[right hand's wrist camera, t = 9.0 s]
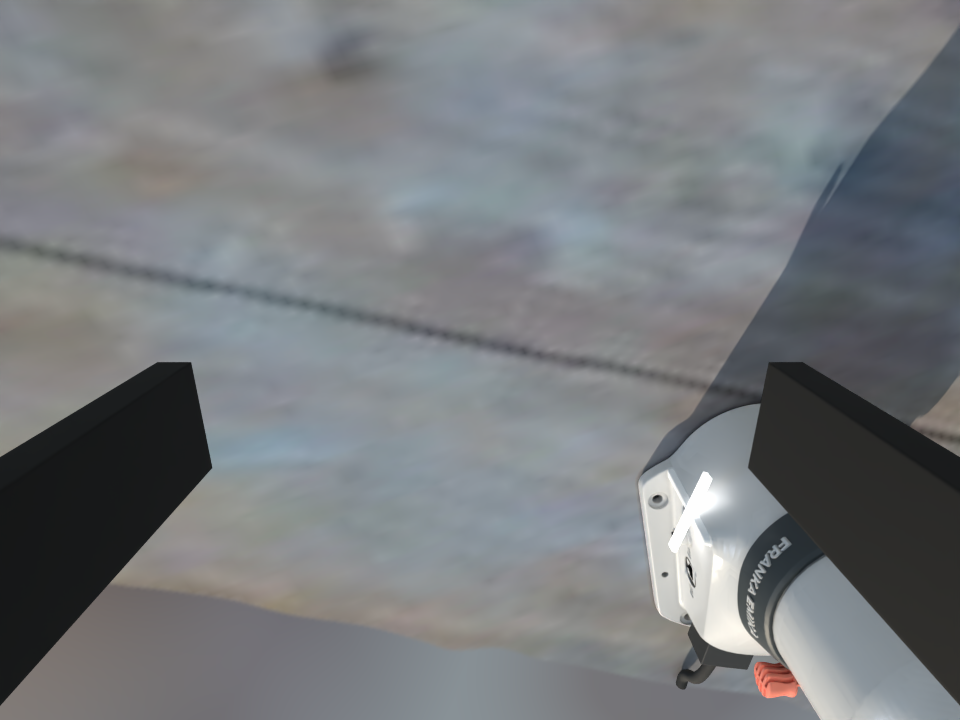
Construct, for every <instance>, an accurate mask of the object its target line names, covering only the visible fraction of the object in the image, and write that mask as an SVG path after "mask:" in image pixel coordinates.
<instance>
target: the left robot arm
mask: <svg viewBox="0 0 960 720" xmlns="http://www.w3.org/2000/svg"><path fill="white" fill-rule="evenodd" d="M760 404H761V403H760ZM760 404H752V405H747V406H742V407H739V408H735V409H732V410H730V411H727V412H725V413H723V414H720V415H718V416H716V417H715V418H713V419H711V420H709V421H708V422H706V423H705V424H703V425H702V426H701V427H699V428H698V429H697V430H696V431H695V432H693V433H692V434H691V435H690V436H689V437H688V438H687V439H686V440H685V442H684V443H683V444H682V445H681V446H680V447H679V449H678V450H677V451H676V452H675V453H674V454H673V455H672V456H671V457H670V458H668V459H667V460H665V461H663V462H661V463H659V464H657V465H656V466H654V467H652V468H651V469H649V470H648V471H646V472H645V473H644V474H643V475H642V476H641V477H640V479H639V483H638V487H639V494H640V501H641V509H642V516H643V523H644V530H645V537H646V544H647V552H648V559H649V566H650V573H651V580H652V588H653V595H654V601H655V605H656V608H657V609H658V611H659V613H660V614H661V615H662V616H663V617H665V618H667V619H669V620H671V621H673V622H676V623H679V624H682V625H686V626H690V629H689V632H688V636H689V638H690V640H691V643H692V645H693V647H694V649H695V652H696V654H697V656H698V658H699V661H700V663H701V664H702V665H701V666H700V668H699V669H698V670H696V671H695V672H693V671H691V670H688V669H685V670H682V671H681V672H680V673H679V674H678V677H677V680H676V685H677V686H678V688H680V689H685V688H686V686H687V683H688V681H689V682H691V683H693V684H700V683H702V682H703V681H705V680H706V679H707V678H708V677H709V675H710V674H711V673H712V671H713V670H714V668H715V667H716V666H719V667H728V668H737V669H746V670H747V669H748V667H749V664H750V662H751V660H752V657H753V655H771V656H773V657H774V658H775V659H776V660H777V661H778V662H780V663H777V664H771V663H767V662H757V663H756V664H755V668H754V674H755V678H756V683H757V686H758V688H759V690H760V692H762V695H763V696H766V698H773V697H778V696H783V695H785V696H789V697H795V696H796V694H797V690H798V687H797V686H800V687H801V688H802V690H803V692H804V693H805V695H806V696H807V698H808V700H809V701H810V703H811V705H812V706H813V708H814V709H815V711H816V713H817V714H818V716H819V718H820V719H821V720H960V705H959V704H958V703H957V702H956V701H955V700H954V699H953V697H952V696H951V695H950V694H949V693H948V692H947V691H946V690H945V688H944V687H943V686H942V685H941V684H940V683H939V682H938V681H937V680H936V678H935V677H934V676H933V675H932V674H931V673H930V672H929V671H928V669H927V668H926V667H925V666H924V665H923V664H922V663H921V662H920V660H919V659H918V658H917V657H916V656H915V655H914V654H913V653H912V651H911V650H910V649H909V648H908V647H907V646H906V645H905V644H904V642H903V641H902V640H901V639H900V638H899V637H898V636H897V635H896V634H895V632H894V631H893V630H892V629H891V628H890V627H889V626H888V625H887V623H886V622H885V621H884V620H883V619H882V618H881V617H880V616H879V614H878V613H877V612H876V611H875V610H874V609H873V608H872V607H871V605H870V604H869V603H868V602H867V601H866V600H865V599H864V598H863V597H862V595H861V594H860V593H859V592H858V591H857V590H856V589H855V588H854V586H853V585H852V584H851V583H850V582H849V581H848V580H847V579H846V577H845V576H844V575H843V574H842V573H841V572H840V571H839V570H838V568H837V567H836V566H835V565H834V564H833V563H832V562H831V561H830V559H829V558H828V557H827V556H826V555H825V554H824V553H823V552H822V551H821V549H820V548H819V547H818V546H817V545H816V544H815V543H814V542H813V540H812V539H811V538H810V537H809V536H808V535H807V534H806V533H805V531H804V530H803V529H802V528H801V527H800V526H799V525H798V524H797V522H796V521H795V520H794V519H793V518H792V517H791V516H790V515H789V514H788V512H787V511H786V510H785V509H784V508H783V507H782V506H781V505H780V503H779V502H778V501H777V500H776V499H775V498H774V497H773V496H772V494H771V493H770V492H769V491H768V490H767V489H766V488H765V487H764V485H763V484H762V483H761V482H760V481H759V480H758V479H757V478H756V477H755V475H754V474H753V473H752V472H751V471H750V470H749V469H748V464H749V459H750V454H751V449H752V444H753V439H754V434H755V429H756V424H757V419H758V414H759V409H760ZM655 495H660V496H659V497H658V498H655V499H654V498H653V497H654V496H655Z"/></svg>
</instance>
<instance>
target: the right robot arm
mask: <svg viewBox="0 0 960 720" xmlns="http://www.w3.org/2000/svg"><path fill="white" fill-rule="evenodd" d="M211 469H212V464H211V459H210V454H209V449H208V444H207V439H206V434H205V429H204V424H203V419H202V414H201V409H200V404H199V399H198V394H197V389H196V384H195V379H194V374H193V369H192V364H191V362H157V363H155V364H154V365H152V366H150V367H149V368H147V369H145V370H144V371H142V372H141V373H139V374H137V375H136V376H134V377H132V378H131V379H129V380H127V381H126V382H124V383H122V384H121V385H119V386H117V387H116V388H114V389H112V390H111V391H109V392H107V393H106V394H104V395H102V396H101V397H99V398H97V399H96V400H94V401H92V402H91V403H89V404H88V405H86V406H84V407H83V408H81V409H79V410H78V411H76V412H74V413H73V414H71V415H69V416H68V417H66V418H64V419H63V420H61V421H59V422H58V423H56V424H54V425H53V426H51V427H49V428H48V429H46V430H44V431H43V432H41V433H39V434H38V435H36V436H35V437H33V438H31V439H30V440H28V441H26V442H25V443H23V444H21V445H20V446H18V447H16V448H15V449H13V450H11V451H10V452H8V453H6V454H5V455H3V456H1V457H0V705H1V704H2V703H3V702H4V701H5V700H6V699H7V697H8V696H9V695H10V694H11V693H12V692H13V691H14V690H15V688H16V687H17V686H18V685H19V684H20V683H21V682H22V681H23V680H24V678H25V677H26V676H27V675H28V674H29V673H30V672H31V671H32V669H33V668H34V667H35V666H36V665H37V664H38V663H39V662H40V660H41V659H42V658H43V657H44V656H45V655H46V654H47V653H48V651H49V650H50V649H51V648H52V647H53V646H54V645H55V644H56V642H57V641H58V640H59V639H60V638H61V637H62V636H63V635H64V634H65V632H66V631H67V630H68V629H69V628H70V627H71V626H72V624H73V623H74V622H75V621H76V620H77V619H78V618H79V617H80V615H81V614H82V613H83V612H84V611H85V610H86V609H87V608H88V607H89V605H90V604H91V603H92V602H93V601H94V600H95V599H96V598H97V597H98V595H99V594H100V593H101V592H102V591H103V590H104V589H105V588H106V586H107V585H108V584H109V583H110V582H111V581H112V580H113V579H114V577H115V576H116V575H117V574H118V573H119V572H120V571H121V570H122V568H123V567H124V566H125V565H126V564H127V563H128V562H129V561H130V559H131V558H132V557H133V556H134V555H135V554H136V553H137V552H138V551H139V549H140V548H141V547H142V546H143V545H144V544H145V543H146V542H147V540H148V539H149V538H150V537H151V536H152V535H153V534H154V533H155V531H156V530H157V529H158V528H159V527H160V526H161V525H162V524H163V522H164V521H165V520H166V519H167V518H168V517H169V516H170V515H171V514H172V512H173V511H174V510H175V509H176V508H177V507H178V506H179V505H180V503H181V502H182V501H183V500H184V499H185V498H186V497H187V496H188V494H189V493H190V492H191V491H192V490H193V489H194V488H195V487H196V485H197V484H198V483H199V482H200V481H201V480H202V479H203V478H204V477H205V475H206V474H207V473H208V472H209V471H210V470H211ZM748 469H749V470H750V471H751V472H752V473H753V474H754V475H755V477H756V478H757V479H758V480H759V481H760V482H761V483H762V484H763V485H764V487H765V488H766V489H767V490H768V491H769V492H770V493H771V494H772V496H773V497H774V498H775V499H776V500H777V501H778V502H779V503H780V505H781V506H782V507H783V508H784V509H785V510H786V511H787V512H788V514H789V515H790V516H791V517H792V518H793V519H794V520H795V521H796V522H797V524H798V525H799V526H800V527H801V528H802V529H803V530H804V531H805V533H806V534H807V535H808V536H809V537H810V538H811V539H812V540H813V542H814V543H815V544H816V545H817V546H818V547H819V548H820V549H821V551H822V552H823V553H824V554H825V555H826V556H827V557H828V558H829V559H830V561H831V562H832V563H833V564H834V565H835V566H836V567H837V568H838V570H839V571H840V572H841V573H842V574H843V575H844V576H845V577H846V579H847V580H848V581H849V582H850V583H851V584H852V585H853V586H854V588H855V589H856V590H857V591H858V592H859V593H860V594H861V595H862V597H863V598H864V599H865V600H866V601H867V602H868V603H869V604H870V605H871V607H872V608H873V609H874V610H875V611H876V612H877V613H878V614H879V616H880V617H881V618H882V619H883V620H884V621H885V622H886V623H887V625H888V626H889V627H890V628H891V629H892V630H893V631H894V632H895V634H896V635H897V636H898V637H899V638H900V639H901V640H902V641H903V642H904V644H905V645H906V646H907V647H908V648H909V649H910V650H911V651H912V653H913V654H914V655H915V656H916V657H917V658H918V659H919V660H920V662H921V663H922V664H923V665H924V666H925V667H926V668H927V669H928V671H929V672H930V673H931V674H932V675H933V676H934V677H935V678H936V680H937V681H938V682H939V683H940V684H941V685H942V686H943V687H944V688H945V690H946V691H947V692H948V693H949V694H950V695H951V696H952V697H953V699H954V700H955V701H956V702H957V703H958V704H959V705H960V457H959V456H957V455H955V454H954V453H952V452H950V451H949V450H947V449H945V448H944V447H942V446H940V445H939V444H937V443H935V442H934V441H932V440H930V439H929V438H927V437H925V436H924V435H922V434H921V433H919V432H917V431H916V430H914V429H912V428H911V427H909V426H907V425H906V424H904V423H902V422H901V421H899V420H897V419H896V418H894V417H892V416H891V415H889V414H887V413H886V412H884V411H882V410H881V409H879V408H877V407H876V406H874V405H872V404H871V403H869V402H868V401H866V400H864V399H863V398H861V397H859V396H858V395H856V394H854V393H853V392H851V391H849V390H848V389H846V388H844V387H843V386H841V385H839V384H838V383H836V382H834V381H833V380H831V379H829V378H828V377H826V376H824V375H823V374H821V373H819V372H818V371H816V370H815V369H813V368H811V367H810V366H808V365H806V364H805V363H803V362H769V364H768V369H767V374H766V379H765V384H764V389H763V394H762V399H761V404H760V409H759V414H758V419H757V424H756V429H755V434H754V439H753V444H752V449H751V454H750V459H749V464H748Z"/></svg>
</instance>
